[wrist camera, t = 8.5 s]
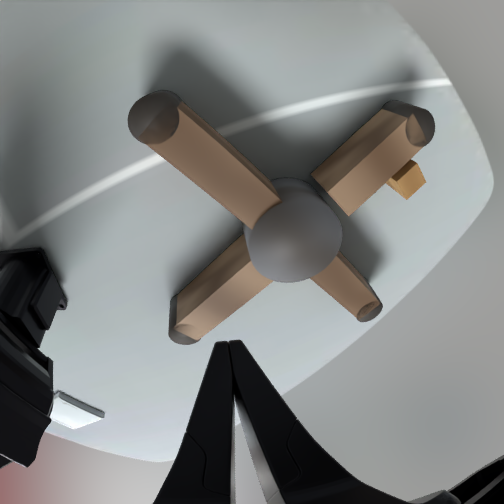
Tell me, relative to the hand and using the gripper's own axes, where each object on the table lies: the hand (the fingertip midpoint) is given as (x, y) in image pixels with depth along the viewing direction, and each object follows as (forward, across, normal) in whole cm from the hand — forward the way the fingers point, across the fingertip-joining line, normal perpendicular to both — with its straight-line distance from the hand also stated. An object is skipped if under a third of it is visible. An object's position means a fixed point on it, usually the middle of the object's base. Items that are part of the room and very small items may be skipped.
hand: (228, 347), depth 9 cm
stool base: (+12, -4, +3) cm, 13 cm away
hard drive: (+13, +27, +34) cm, 45 cm away
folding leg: (+12, -10, -4) cm, 16 cm away
